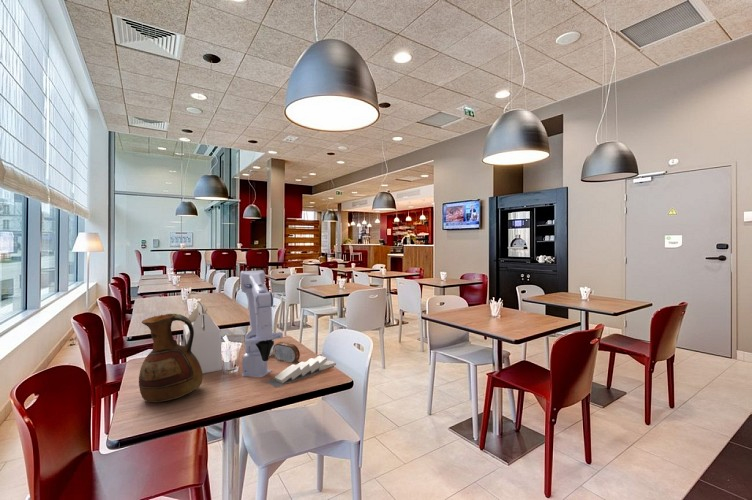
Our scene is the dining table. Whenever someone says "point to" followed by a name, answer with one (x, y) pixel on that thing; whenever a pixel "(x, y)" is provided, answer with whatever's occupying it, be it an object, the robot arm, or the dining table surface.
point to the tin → (286, 352)
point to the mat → (277, 384)
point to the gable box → (204, 340)
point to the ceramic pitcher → (168, 362)
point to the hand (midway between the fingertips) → (265, 360)
